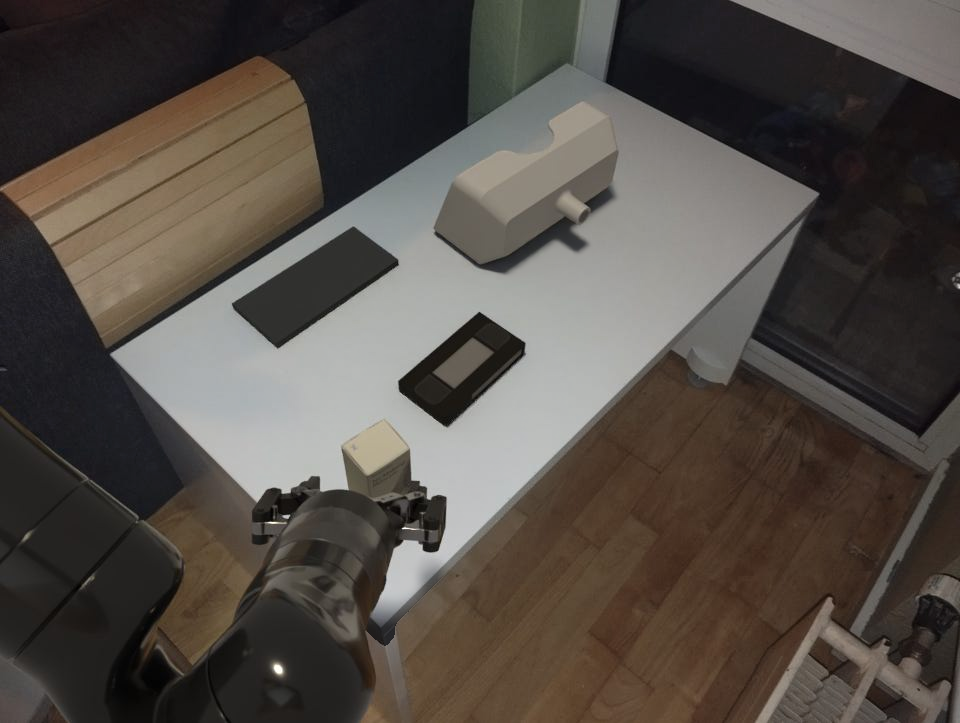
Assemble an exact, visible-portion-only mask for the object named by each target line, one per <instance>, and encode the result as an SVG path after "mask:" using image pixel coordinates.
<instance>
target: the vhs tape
mask: <svg viewBox="0 0 960 723" xmlns="http://www.w3.org/2000/svg"><path fill="white" fill-rule="evenodd" d="M525 351H526V342H525V341H523V339H520V338H519V337H518V336H516V335H515V334H513V333H512V332H510V331H508V329H506V328H504V327H503V326H501V325H500V324H499V323H497V322H496V321H494V320H493V319H491V318H490V317H488V316H486V315H485V314H484V313H482V312H481V311H478V312H477V313H476V314H474V315H473V316H472V317H470V318H469V320H467V321H466V322H465V323H464V324H463V325H461V326H460V327H459V328H458V329H457V330H456V331H455V332H453V333H452V334H451V335H450V336H449V337H447V338H446V339H445V340H444V341H442V343H441V344H439V345H438V346H437V347H436V348H435V349H434V350H432V351H431V352H430V353H429V354H428V355H427V356H425V357H424V358H423V359H422V360H420V362H418V363H417V364H416V365H414V366H413V368H411V369H410V370H409V371H408V372H407V373H405V374H404V375H403V376H402V377H401V378H399V379H398V380H397V385H398V391H399V392H400V393H402V394H403V395H404V396H406V398H408V399H409V400H410V401H412V403H414V404H416V405H417V406H418V407H419V408H421V409H422V410H423V411H425V412H426V413H427V414H428V415H430V416H431V417H433V418H434V419H435V420H437V421H438V422H439V423H440V424H442V425H443V426H444V427H448V426H449V425H450V424H451V423H452V422H453V421H454V420H455V419H457V418H458V416H460V415H461V414H462V413H463V412H464V411H465V410H466V409H468V407H469V406H471V404H473V402H475V401H476V400H477V399H478V398H479V397H480V396H481V395H483V393H484V392H485V391H486V390H488V389H489V388H490V387H491V386H492V385H493V384H494V383H495V382H496V381H497V380H498V379H499V378H500V377H501V376H503V375H504V374H505V372H507V371H508V370H509V369H510V368H511V367H512V366H513V365H514V364H516V362H518V361H519V360H520V359H521V358H522V357H523V356H524V355H525V353H526V352H525Z"/></svg>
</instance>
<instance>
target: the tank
mask: <svg viewBox="0 0 960 723" xmlns="http://www.w3.org/2000/svg"><path fill="white" fill-rule="evenodd" d="M547 128H548V130H549V131H550V132H551V133H552V137H553V139H552V140H553V141H552V143H551V144H550V145H549V146H548V147H546V148H545V149H543V150H541V151H539V152H534V153H519V152H514V151H512V150H507V149H504V150H502V149H501V150H498V151H496V152H494V153H492V154H491V155H489V156H487V157H486V158H483V159H482V160H481V161H478V162H477V163H475V164H474V165H472V166H470V167H468V168H467V169H465V170H464V171H462V172H460V173H459V174H458V175H457V176H456V177H455V178H454V179H453V181H452V182H451V184H450V186H449V189H448V191H447V194H446V196H445V198H444V200H443V203H442V206H441V208H440V210H439V213H438V216H437V218H436V220H435V222H434V225H433V228H432V229H433V231H435V232H436V233H437V234H439V235H440V236H442V237H443V238H445V239H446V240H447V241H449V243H451V244H452V245H454V246H455V247H456V248H457V249H459V250H460V251H461V252H463V253H464V254H465V255H467V256H468V257H469V258H471V259H472V261H474V262H476V263H477V264H478V265H484V264H487V263H490V262H493V261H496V260H499V259H502V258H504V257H507V256H509V255H511V254H512V253H513V252H515V251H516V250H518V249H519V248H521V247H523V246H524V245H525V244H527V243H529V241H531V240H532V239H534V238H536V237H537V236H538V235H540V234H541V233H543V232H544V231H546V230H547V229H548V228H550V227H552V226H553V225H555V224H556V223H557V222H559V221H560V220H562V219H564V218H566V219H569V220H570V221H571V222H574V223H575V224H576V225H579V226H581V225H583V224H584V223H585V222H587V220H588V218H589V217H590V215H591V212H592V210H591V207H589V206H588V205H586V204H585V203H587V202H588V201H590V200H591V199H592V198H595V197H596V196H597V195H599V194H600V193H601V192H602V191H604V190H605V189H607V188H608V187H610V186H611V184H612V182H613V181H614V176H615V172H616V167H617V162H618V158H619V153H620V152H619V148H618V142H617V138H616V133H615V130H614V123H613V119H612V117H611V116H609V115H608V114H606V113H604V112H603V111H601V110H599V109H598V108H596V107H594V106H592V105H590V104H589V103H588V102H585V101H584V100H582V101H580V102H578V103H577V104H575V105H572V106H571V107H570V108H567V109H566V110H565V111H563V112H561V113H560V114H558V115H556V116H554V117H552V119H550V120H549V122H548V124H547Z"/></svg>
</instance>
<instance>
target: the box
mask: <svg viewBox="0 0 960 723" xmlns="http://www.w3.org/2000/svg"><path fill="white" fill-rule="evenodd" d="M340 447H341V453H342V459H343V466H344V471H345V477H346V483H347V490H351V491H355V492H358V493H361V494H363V495H365V496H367V497H370V498H376V497H380V496H383V495H386V494H389V493H393V492H394V493H398V494H401V495H405V494H408V491H409V488H410V484H411V481H412V463H411V462H412V461H411V460H412V459H411V447H410V446H409V444H408V443H407V442H406V441H405V440H404V438H403V437H402V436H401V435H400V433H399V432H398V431H397V429H395V427H394V426H393V425H392V424H391V423H390V422H389V421H388V420H387V419H386V418H383V419H380V420H379V421H377V422H376V423H374V424H372V425H370V426H369V427H367V428H366V429H364V430H362V431H361V432H359V433H358V434H356V435H353V437H351V438H349V439H348V440H346V441H345V442H343V443H342V444H341V445H340ZM387 509H389V507H388V508H387ZM407 511H408V509H407Z"/></svg>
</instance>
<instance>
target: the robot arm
mask: <svg viewBox="0 0 960 723" xmlns="http://www.w3.org/2000/svg"><path fill="white" fill-rule="evenodd" d="M282 491H283V489H282V488H279V487H270V488H267V489H265V491H264V492H263V494H262V495H261V497H260V498H259V499H258V501H257V502H256V504H255V505H254V506H253V508H252V509H251V543H252V545H256V546H263V545H267V544H269V542H270V540H271V539H274V541H273V542H272V544H271V545H270V546H269V549H268V550H267V552H266V555H265V556H264V559H263V562H262V564H261V566H260V568H259V570H258V571H257V572H256V573H255V575H254V576H253V578H252V580H251V581H250V582H249V584H248V585H247V587H246V589H245V590H244V591H243V594H242V596H241V597H240V599H239V601H238V604H237V606H236V608H235V612H234V615H233V619H232V622H231V624H230V625H229V626H228V627H227V628H226V629H225V630H224V631H223V632H222V634H220V636H219V637H217V639H216V640H215V641H214V642H213V643H212V644H211V645H210V646H209V647H208V648H207V649H206V650H205V651H204V653H203V654H202V655H201V656H200V657H199V658H198V659H197V660H196V661H195V662H194V663H193V664H192V666H191V667H189V669H188V670H187V671H185V673H184V672H183V671H181V670H180V669H179V668H178V667H177V666H176V665H175V664H174V662H173V661H172V660H171V658H170V657H169V655H168V653H167V651H166V649H165V647H164V646H163V643H162V641H161V638H160V637H159V635H158V627H159V626H160V624H161V623H162V621H163V619H164V618H165V616H166V615H167V613H168V611H169V610H170V609H171V606H172V605H173V603H174V601H175V599H176V598H177V596H178V594H179V592H180V590H181V587H182V585H183V583H184V580H185V576H186V562H185V559H184V556H183V555H182V553H181V551H180V550H179V549H178V547H177V546H176V545H174V543H172V542H171V541H170V540H169V539H168V538H167V537H166V536H165V535H164V534H162V533H161V532H160V531H159V530H157V529H156V528H155V527H153V526H152V525H151V524H149V523H148V522H147V521H146V520H144V519H140V516H139V515H138V514H137V513H135V512H134V511H132V510H131V509H130V508H129V507H128V506H126V505H125V504H124V503H122V502H121V501H120V500H118V499H117V498H116V497H115V496H114V495H112V494H110V493H109V492H108V491H107V490H105V489H104V488H103V487H102V486H100V485H99V484H98V483H96V482H95V481H94V480H92V479H90V478H89V476H87V475H86V474H84V473H83V472H82V471H80V470H79V469H78V468H76V466H74V465H73V464H71V463H70V461H67V460H66V459H65V458H64V457H62V455H60V454H58V453H57V452H56V451H54V450H53V449H52V448H51V447H49V446H48V445H47V444H46V443H45V442H44V441H42V440H41V439H40V438H39V437H37V436H36V435H35V434H34V433H33V432H31V431H30V430H29V429H28V428H27V427H26V426H24V425H23V424H22V423H21V422H20V421H19V420H18V419H16V417H14V416H13V415H12V414H11V413H10V412H8V410H6V409H5V408H4V407H3V406H2V405H1V404H0V659H2V660H3V661H4V662H10V661H11V660H12V661H11V662H10V666H12V667H13V668H15V669H16V670H18V671H19V672H20V673H22V674H23V675H25V676H27V677H28V678H30V679H31V680H33V681H34V682H35V683H36V684H38V686H39V687H40V688H41V689H42V691H44V693H45V695H46V696H48V698H49V699H50V701H51V702H52V704H54V706H55V708H56V709H57V710H58V712H59V713H60V715H61V716H62V718H64V720H65V721H66V722H67V723H362V721H363V719H364V718H365V715H366V713H367V712H368V709H369V707H370V705H371V703H372V700H373V698H374V694H375V690H376V684H377V674H376V669H375V668H376V667H375V664H374V661H373V658H372V654H371V650H370V645H369V640H368V636H367V632H366V631H367V628H368V625H369V621H370V618H371V616H372V614H373V612H374V610H375V608H376V607H377V605H378V603H379V601H380V598H381V595H382V594H383V592H384V590H385V588H386V584H387V580H388V579H387V575H388V571H389V568H390V565H391V561H392V557H393V554H394V550H395V549H396V548H397V547H400V546H401V545H402V544H403V543H404V541H409V542H410V541H412V542H418V545H421V546H422V551H423V552H425V553H430V554H431V553H432V554H433V553H438V552H439V551H440V547H441V545H442V542H443V537H444V534H445V531H446V525H447V506H448V505H447V503H448V502H447V501H448V498H447V496H445V495H442V494H436V495H432V496H431V498H430V499H429V498H428V487H427V486H425V485H421V481H420V480H411V484H410V488H409V491H408V494H405V495H401V494H398V493H394V492H393V493H389V494H386V495H383V496H380V497H376V498H370V497H367V496H365V495H363V494H361V493H358V492H355V491H351V490H349V489H344V488H343V489H342V488H336V489H328V490H324V491H321V476H320V475H311V476H310V477H309V478H308V479H307V480H303V481H300V483H299V484H298V485H297V486H293V487H291V488H290V492H285V493H283V492H282ZM388 507H389V509H387V508H388ZM407 509H408V511H407ZM284 516H288V518H286V517H284ZM139 519H140V520H139Z"/></svg>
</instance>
